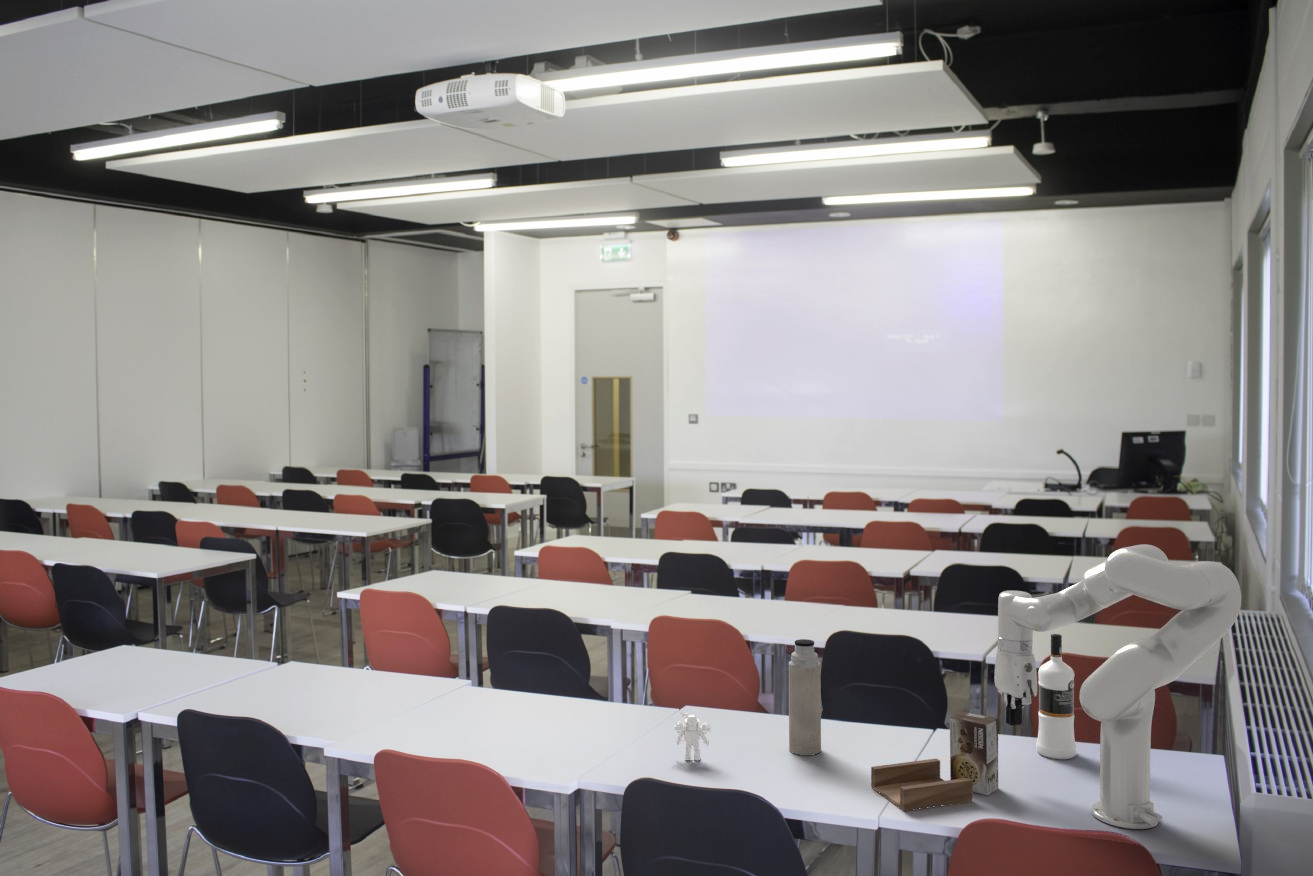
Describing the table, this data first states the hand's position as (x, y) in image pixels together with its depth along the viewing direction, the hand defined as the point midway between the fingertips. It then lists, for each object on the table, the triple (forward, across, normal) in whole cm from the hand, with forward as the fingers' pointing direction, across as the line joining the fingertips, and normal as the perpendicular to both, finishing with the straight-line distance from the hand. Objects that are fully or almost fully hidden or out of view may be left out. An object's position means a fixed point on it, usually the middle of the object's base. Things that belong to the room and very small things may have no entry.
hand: (1013, 723), depth 226 cm
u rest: (+13, 0, +25) cm, 28 cm away
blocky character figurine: (+14, +36, +66) cm, 77 cm away
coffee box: (+14, -1, +11) cm, 17 cm away
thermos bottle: (+14, +33, +37) cm, 52 cm away
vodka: (+14, +11, -21) cm, 28 cm away
